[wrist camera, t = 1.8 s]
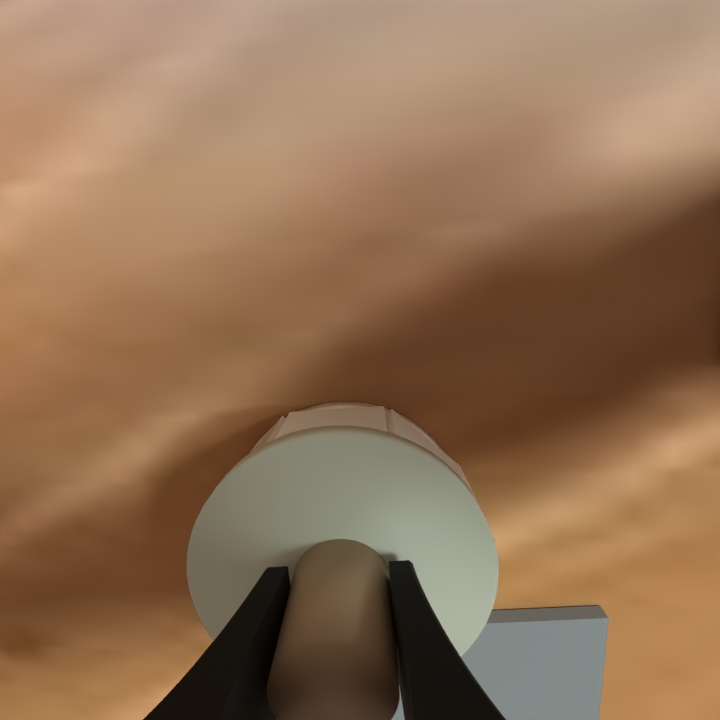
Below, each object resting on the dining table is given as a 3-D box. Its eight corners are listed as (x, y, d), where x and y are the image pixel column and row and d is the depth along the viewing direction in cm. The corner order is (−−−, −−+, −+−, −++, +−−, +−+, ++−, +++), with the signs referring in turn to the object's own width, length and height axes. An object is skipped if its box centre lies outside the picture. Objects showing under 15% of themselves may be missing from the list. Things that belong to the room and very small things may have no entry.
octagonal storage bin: (457, 393, 14) (481, 425, 11) (459, 592, 16) (480, 663, 13) (221, 408, 14) (184, 443, 11) (253, 602, 16) (228, 674, 13)
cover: (491, 415, 11) (559, 493, 7) (489, 670, 13) (540, 835, 9) (173, 435, 11) (73, 519, 7) (222, 681, 14) (163, 845, 10)
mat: (599, 605, 16) (608, 617, 16) (585, 773, 18) (592, 789, 18) (323, 618, 17) (321, 631, 16) (341, 781, 19) (341, 797, 18)
